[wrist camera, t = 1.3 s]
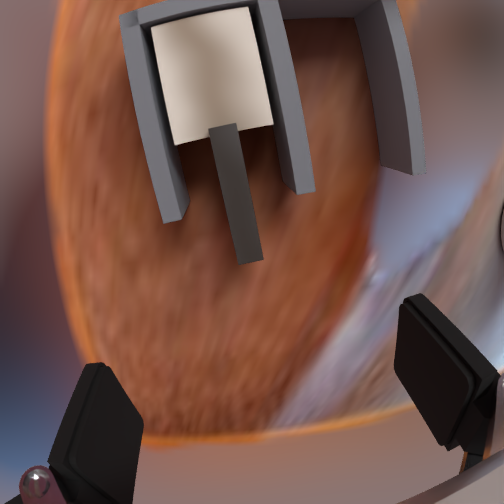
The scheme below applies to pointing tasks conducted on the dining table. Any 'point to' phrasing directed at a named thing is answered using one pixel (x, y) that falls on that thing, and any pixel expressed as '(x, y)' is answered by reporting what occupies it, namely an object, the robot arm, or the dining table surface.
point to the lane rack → (279, 87)
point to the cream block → (217, 102)
